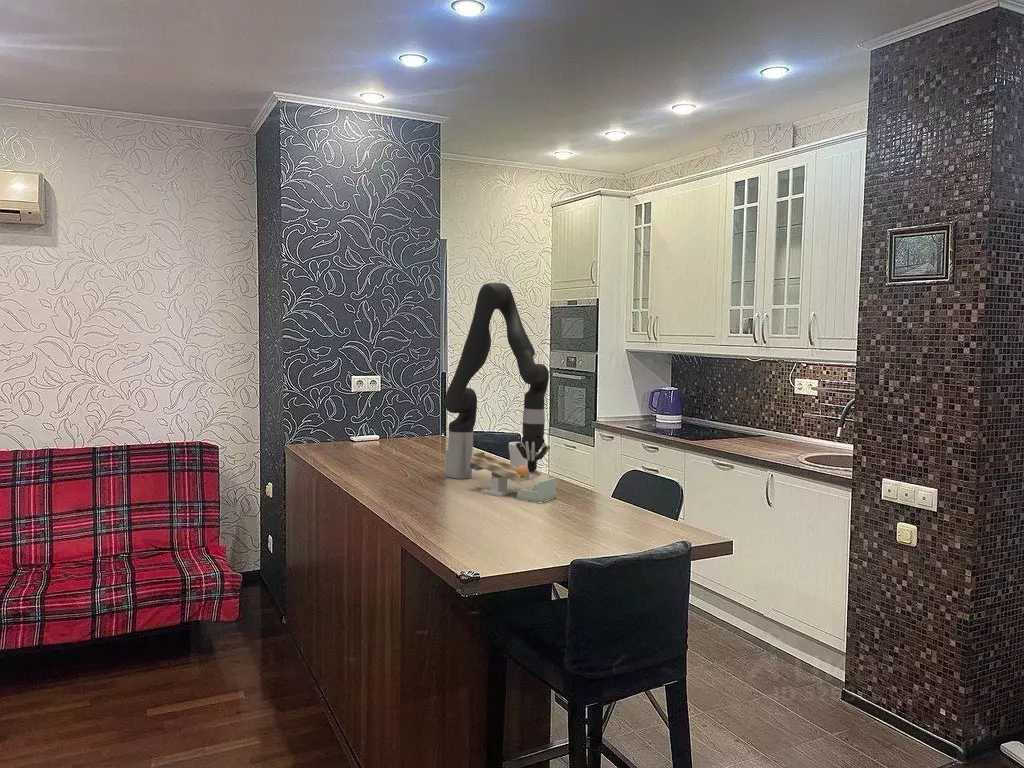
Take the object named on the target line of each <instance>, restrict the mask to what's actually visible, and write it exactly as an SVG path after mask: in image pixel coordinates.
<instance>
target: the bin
mask: <svg viewBox="0 0 1024 768" xmlns="http://www.w3.org/2000/svg"><path fill="white" fill-rule="evenodd" d="M516 492H517V495H516V499H522V500H521V501H523V500H528V501H527V502H529V501H535V502H544V501H546V500H549V499H552V498H555V497H556V496H557V477H550V478H547V479H544V480H541V481H539V482H538V484H534V485H533V486H532V487H530V488H526V489H523V488H520V489H519V491H516ZM556 498H557V497H556ZM544 503H545V502H544Z"/></svg>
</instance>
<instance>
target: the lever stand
mask: <svg viewBox="0 0 1024 768" xmlns="http://www.w3.org/2000/svg"><path fill="white" fill-rule="evenodd" d="M508 481H509V480H508V478H506V477H503V476H501V475H497V476H490V487H488V488H484V489H481V490H480V493H481V494H483V493H484V494H485V495H489V494H490V495H491V496H494V497H495V496H496V497H500V496H501V497H503V496H507V495H510V494H509V493H511V494H513V493H512V492H514V491H516V492H517V488H515V487H513V488H512V487H508ZM514 493H515V492H514ZM484 494H483V495H484ZM506 494H507V495H506ZM490 495H489V496H490Z"/></svg>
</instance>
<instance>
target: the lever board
mask: <svg viewBox="0 0 1024 768" xmlns="http://www.w3.org/2000/svg"><path fill="white" fill-rule="evenodd" d="M470 463H471V465H470V468H471V469H472V470H474V471H476V472H477V471H481V470H482V471H483V470H487V471H489V472H490V473H491V477H493V476H497V475H501V476H503V477H506V478H508V479H509V480H511V481H513V482H515V483H521V482H525V481H528V480H530V479H531V480H532V479H533V478H536V477H537V478H538V477H540V476H542V473H541V472H540V471H538V470H535V471H534V472H530V471H529V473H528V475H527V476H525V477H521V475H518V474H517V467H515V466H512V465H511V464H510V463H507V462H505V461H502V460H499V459H498V458H495V457H492V456H490V455H487V454H485V452H484V451H479V452H478V451H477V452H474V453H473V455H472V457H471V461H470Z"/></svg>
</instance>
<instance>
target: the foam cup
mask: <svg viewBox="0 0 1024 768" xmlns="http://www.w3.org/2000/svg"><path fill="white" fill-rule="evenodd" d="M519 442H520V441H511V442H508V452H509V462H510V463H509V464H510V465H512V466H515V467H517V468H518V467H519V466H521V465H525V466H527V467H528V460H527V459H525V458H523V457H522V455H521V453H520V452H519V450H518V448H517V446H516V444H517V443H519ZM524 447H525V446H524ZM525 449H526V448H525Z"/></svg>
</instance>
